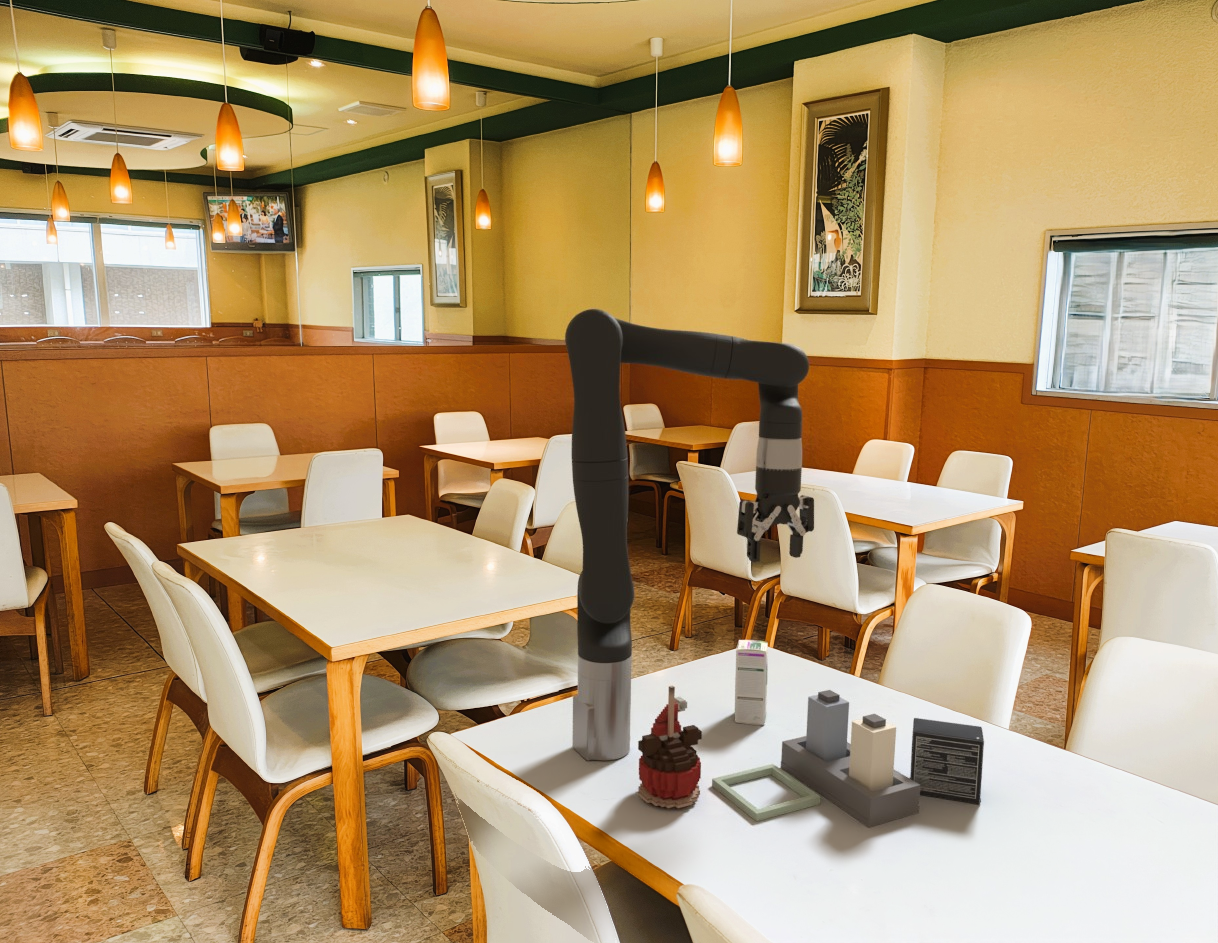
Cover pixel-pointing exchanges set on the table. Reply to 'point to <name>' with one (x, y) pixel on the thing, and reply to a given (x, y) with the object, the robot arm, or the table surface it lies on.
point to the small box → (947, 760)
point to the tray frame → (771, 811)
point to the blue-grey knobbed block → (827, 725)
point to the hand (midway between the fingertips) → (774, 559)
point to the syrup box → (751, 682)
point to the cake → (670, 759)
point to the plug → (872, 752)
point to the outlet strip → (850, 785)
